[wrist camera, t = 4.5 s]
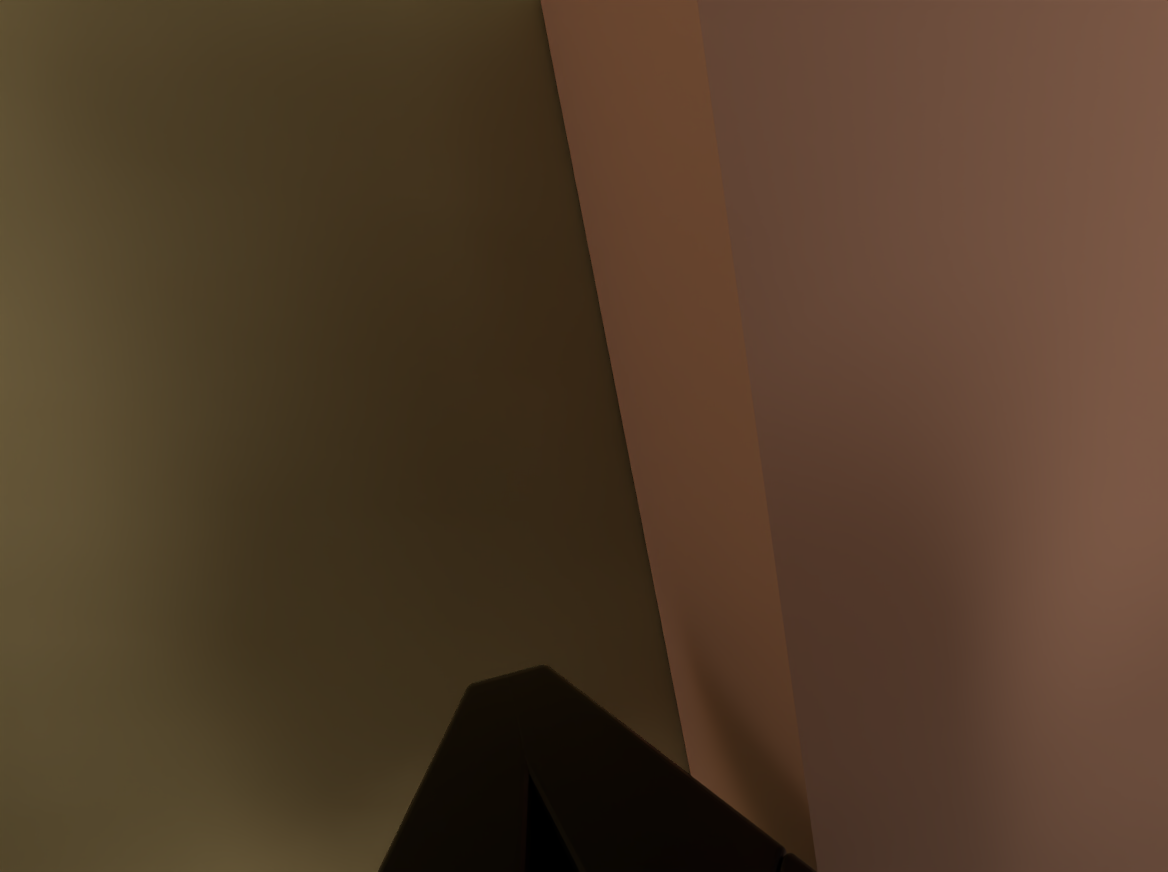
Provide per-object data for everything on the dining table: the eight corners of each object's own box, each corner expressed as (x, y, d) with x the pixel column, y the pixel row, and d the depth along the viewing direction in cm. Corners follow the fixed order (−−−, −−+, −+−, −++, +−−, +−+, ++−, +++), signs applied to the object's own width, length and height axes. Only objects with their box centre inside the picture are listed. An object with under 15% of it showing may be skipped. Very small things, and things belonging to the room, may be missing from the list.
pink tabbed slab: (1280, 829, 13) (1639, 1120, 9) (736, 1012, 12) (893, 1417, 8) (1379, -175, 9) (2139, -390, 5) (538, -6, 8) (683, -107, 4)
